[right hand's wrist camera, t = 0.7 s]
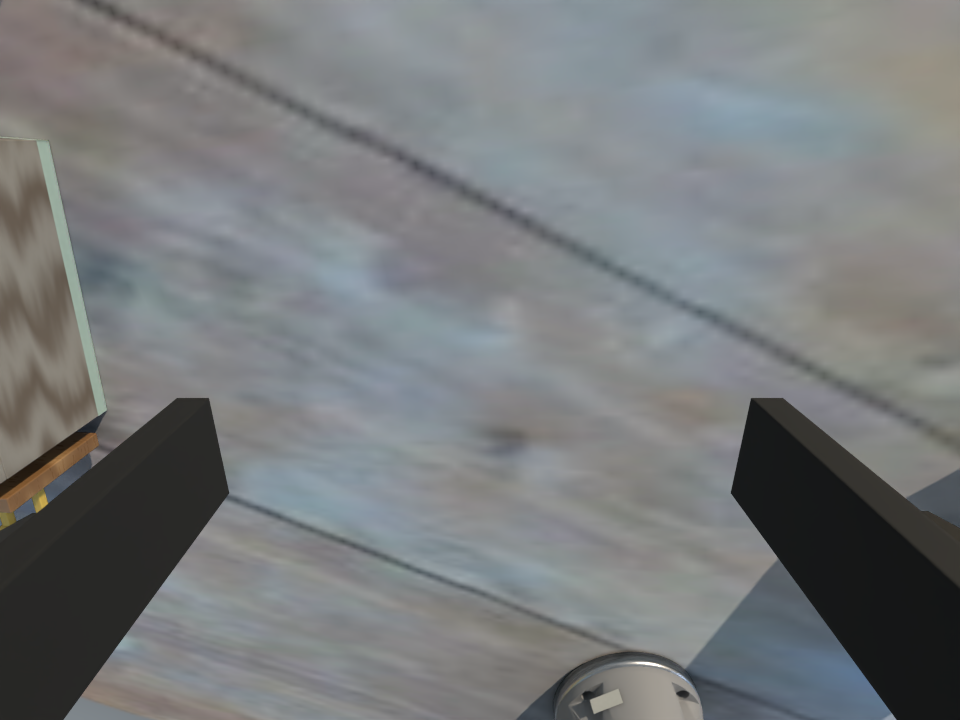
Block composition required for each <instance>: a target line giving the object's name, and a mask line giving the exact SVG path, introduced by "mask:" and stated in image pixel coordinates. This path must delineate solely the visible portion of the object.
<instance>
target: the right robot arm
mask: <svg viewBox="0 0 960 720" xmlns="http://www.w3.org/2000/svg"><path fill="white" fill-rule="evenodd" d="M228 494H229V490H228V485H227V481H226V476H225V471H224V467H223V462H222V457H221V453H220V448H219V443H218V439H217V434H216V429H215V425H214V420H213V415H212V411H211V406H210V401H209V398H177V399H176V400H174V401H173V402H172V403H171V404H169V405H168V406H167V407H166V408H165V409H163V410H162V411H161V412H160V413H158V414H157V415H156V416H155V417H154V418H152V419H151V420H150V421H149V422H147V423H146V424H145V425H144V426H143V427H141V428H140V429H139V430H138V431H136V432H135V433H134V434H133V435H132V436H130V437H129V438H128V439H127V440H125V441H124V442H123V443H122V444H121V445H119V446H118V447H117V448H116V449H114V450H113V451H112V452H111V453H110V454H108V455H107V456H106V457H105V458H103V459H102V460H101V461H100V462H99V463H97V464H96V465H95V466H94V467H92V468H91V469H90V470H89V471H88V472H86V473H85V474H84V475H83V476H81V477H80V478H79V479H78V480H77V481H75V482H74V483H73V484H72V485H70V486H69V487H68V488H67V489H66V490H64V491H63V492H62V493H61V494H59V495H58V496H57V497H56V498H55V499H53V500H52V501H51V502H50V503H48V504H47V505H46V506H45V507H44V508H42V509H41V510H40V511H39V512H37V513H32V514H30V515H28V516H26V517H24V518H23V519H21V520H19V521H17V522H15V523H13V524H11V525H10V526H8V527H6V528H4V529H2V530H0V720H63V719H64V718H65V717H66V715H67V714H68V713H69V711H70V710H71V709H72V707H73V706H74V704H75V703H76V702H77V700H78V699H79V698H80V696H81V695H82V694H83V692H84V691H85V689H86V688H87V687H88V685H89V684H90V683H91V681H92V680H93V678H94V677H95V676H96V674H97V673H98V672H99V670H100V669H101V668H102V666H103V665H104V663H105V662H106V661H107V659H108V658H109V657H110V655H111V654H112V653H113V651H114V650H115V648H116V647H117V646H118V644H119V643H120V642H121V640H122V639H123V637H124V636H125V635H126V633H127V632H128V631H129V629H130V628H131V627H132V625H133V624H134V622H135V621H136V620H137V618H138V617H139V616H140V614H141V613H142V612H143V610H144V609H145V607H146V606H147V605H148V603H149V602H150V601H151V599H152V598H153V596H154V595H155V594H156V592H157V591H158V590H159V588H160V587H161V586H162V584H163V583H164V581H165V580H166V579H167V577H168V576H169V575H170V573H171V572H172V571H173V569H174V568H175V566H176V565H177V564H178V562H179V561H180V560H181V558H182V557H183V555H184V554H185V553H186V551H187V550H188V549H189V547H190V546H191V545H192V543H193V542H194V540H195V539H196V538H197V536H198V535H199V534H200V532H201V531H202V530H203V528H204V527H205V525H206V524H207V523H208V521H209V520H210V519H211V517H212V516H213V515H214V513H215V512H216V510H217V509H218V508H219V506H220V505H221V504H222V502H223V501H224V499H225V498H226V497H227V495H228ZM731 494H732V495H733V497H734V498H735V499H736V501H737V502H738V504H739V505H740V506H741V508H742V509H743V510H744V512H745V513H746V515H747V516H748V517H749V519H750V520H751V521H752V523H753V524H754V525H755V527H756V528H757V530H758V531H759V532H760V534H761V535H762V536H763V538H764V539H765V540H766V542H767V543H768V545H769V546H770V547H771V549H772V550H773V551H774V553H775V554H776V555H777V557H778V558H779V560H780V561H781V562H782V564H783V565H784V566H785V568H786V569H787V571H788V572H789V573H790V575H791V576H792V577H793V579H794V580H795V581H796V583H797V584H798V586H799V587H800V588H801V590H802V591H803V592H804V594H805V595H806V596H807V598H808V599H809V601H810V602H811V603H812V605H813V606H814V607H815V609H816V610H817V612H818V613H819V614H820V616H821V617H822V618H823V620H824V621H825V622H826V624H827V625H828V627H829V628H830V629H831V631H832V632H833V633H834V635H835V636H836V637H837V639H838V640H839V642H840V643H841V644H842V646H843V647H844V648H845V650H846V651H847V653H848V654H849V655H850V657H851V658H852V659H853V661H854V662H855V663H856V665H857V666H858V668H859V669H860V670H861V672H862V673H863V674H864V676H865V677H866V678H867V680H868V681H869V683H870V684H871V685H872V687H873V688H874V689H875V691H876V692H877V694H878V695H879V696H880V698H881V699H882V700H883V702H884V703H885V704H886V706H887V707H888V709H889V710H890V711H891V713H892V714H893V715H894V717H895V718H896V719H897V720H960V528H958V527H957V526H955V525H953V524H951V523H949V522H947V521H945V520H943V519H942V518H940V517H938V516H936V515H934V514H932V513H930V512H929V511H920V510H919V509H918V508H916V507H915V506H914V505H913V504H912V503H910V502H909V501H908V500H907V499H905V498H904V497H903V496H902V495H901V494H899V493H898V492H897V491H896V490H894V489H893V488H892V487H891V486H890V485H888V484H887V483H886V482H885V481H883V480H882V479H881V478H880V477H879V476H877V475H876V474H875V473H874V472H872V471H871V470H870V469H869V468H868V467H866V466H865V465H864V464H863V463H861V462H860V461H859V460H858V459H857V458H855V457H854V456H853V455H852V454H850V453H849V452H848V451H847V450H846V449H844V448H843V447H842V446H841V445H839V444H838V443H837V442H836V441H835V440H833V439H832V438H831V437H830V436H828V435H827V434H826V433H825V432H824V431H822V430H821V429H820V428H819V427H817V426H816V425H815V424H814V423H813V422H811V421H810V420H809V419H808V418H806V417H805V416H804V415H803V414H802V413H800V412H799V411H798V410H797V409H795V408H794V407H793V406H792V405H791V404H789V403H788V402H787V401H786V400H784V399H783V398H751V401H750V406H749V411H748V415H747V420H746V425H745V429H744V434H743V439H742V443H741V448H740V453H739V457H738V462H737V467H736V471H735V476H734V481H733V485H732V490H731ZM553 709H554V717H555V720H703V710H702V704H701V700H700V697H699V695H698V692H697V690H696V687H695V685H694V682H693V680H692V679H691V677H690V676H689V674H688V673H687V672H686V671H685V670H684V669H683V668H682V667H681V666H679V665H678V664H676V663H675V662H673V661H671V660H669V659H667V658H664V657H661V656H658V655H654V654H649V653H642V652H622V653H615V654H609V655H605V656H602V657H599V658H596V659H593V660H591V661H589V662H587V663H585V664H583V665H581V666H579V667H578V668H576V669H575V670H574V671H572V672H571V673H570V674H569V675H568V676H567V677H566V678H565V679H564V680H563V681H562V683H561V684H560V686H559V687H558V689H557V691H556V694H555V697H554V702H553Z"/></svg>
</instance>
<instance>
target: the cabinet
mask: <svg viewBox="0 0 960 720" xmlns="http://www.w3.org/2000/svg"><path fill="white" fill-rule="evenodd" d="M105 411H107V408H106V403H105V399H104V394H103V389H102V385H101V380H100V376H99V371H98V366H97V362H96V357H95V353H94V348H93V343H92V339H91V334H90V330H89V325H88V320H87V316H86V311H85V307H84V302H83V297H82V293H81V288H80V284H79V279H78V274H77V270H76V265H75V260H74V256H73V251H72V247H71V242H70V237H69V233H68V228H67V224H66V219H65V214H64V210H63V205H62V201H61V196H60V191H59V187H58V182H57V178H56V173H55V168H54V164H53V159H52V155H51V150H50V145H49V141H48V140H36V139H23V138H10V137H0V484H1V483H2V482H4V481H5V480H6V479H8V478H10V477H11V476H13V475H14V474H16V473H17V472H18V471H20V470H21V469H23V468H24V467H26V466H27V465H28V464H30V463H31V462H33V461H34V460H36V459H37V458H38V457H40V456H41V455H43V454H44V453H46V452H47V451H49V450H50V449H51V448H53V447H54V446H56V445H57V444H59V443H60V442H61V441H63V440H64V439H66V438H67V437H69V436H70V435H71V434H73V433H74V432H76V431H77V430H79V429H80V428H82V427H83V426H84V425H86V424H87V423H89V422H90V421H92V420H93V419H94V418H96V417H97V416H99V415H101V414H102V413H104V412H105Z"/></svg>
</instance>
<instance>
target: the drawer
mask: <svg viewBox="0 0 960 720" xmlns="http://www.w3.org/2000/svg"><path fill="white" fill-rule="evenodd" d="M97 446H99V443H98V439H97V434H96V433H85V432H74V433H73V434H71V435H70V436H69V437H67V438H66V439H64V440H63V441H61V442H60V443H59V444H57V445H56V446H54V447H53V448H51V449H50V450H49V451H47V452H46V453H44V454H43V455H41V456H40V457H38V458H37V459H36V460H34V461H33V462H31V463H30V464H28V465H27V466H26V467H24V468H23V469H21V470H20V471H18V472H17V473H16V474H14V475H13V476H11V477H10V478H8V479H6V480H5V481H4V482H2V483H1V484H0V519H1V522H2V525H1V526H0V530H2V529H4V528H6V527H8V526H10V525H11V524H13V523H15V522H17V521H16V519H15V515H14V511H15V510H16V509H17V508H19V507H20V506H21V505H23V504H24V503H25V502H26V501H28V500H29V499H30V498H32V500H33V504H34V507H35V511H36V513H37V512H39V511H40V510H41V509H42V508H44V507H45V506H46V505H47V504H48V501H47V498H46V494H45V491H44V488H45V487H46V486H47V485H48V484H50V483H51V482H52V481H54V480H55V479H56V478H57V477H59V476H60V475H61V474H63V473H64V472H65V471H66V470H68V469H69V468H70V467H72V466H73V465H74V464H75V463H77V462H78V461H79V460H81V459H82V458H83V457H84V456H86V455H87V454H88V453H90V452H91V451H92V450H94V449H95V448H96V447H97Z"/></svg>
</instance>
